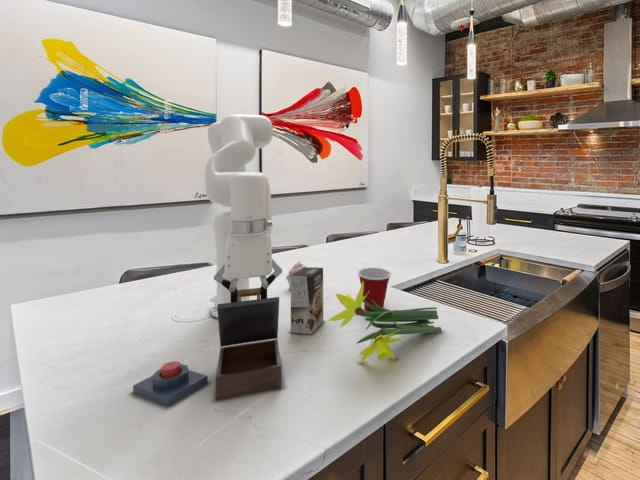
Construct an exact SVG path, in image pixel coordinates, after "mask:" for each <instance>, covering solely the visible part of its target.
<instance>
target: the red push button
mask: <svg viewBox="0 0 640 480" xmlns="http://www.w3.org/2000/svg"><path fill="white" fill-rule="evenodd" d="M181 364H182V363H181V362H180V361H178V360H172V361H168V362H166V363H163V365H161V367H160V369H161V377H163V378H166V377H172V376H175V375H177V374H179V373H180V372H181Z"/></svg>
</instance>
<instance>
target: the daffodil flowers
mask: <svg viewBox="0 0 640 480" xmlns="http://www.w3.org/2000/svg"><path fill="white" fill-rule="evenodd" d="M363 288H364V281H363V282H362V284H361V283H360V288H359V291H358V292H357V295H356V298H355V299H354V298H353V297H352V295H351V294H350V293H347V294H345V295H343V294H339V293H335V294H336V298H337V300H338V301H339V303H340V305H342V306H343V307H344V308H346V309H344V310H342V311H341V312H339V313H337V314H336V315H334V316H332V317H331V318H329V319H328V320H327V322H337V321H341V320H343V321H342V322H341V324H340V326H339V329H341V328H342V327H344V326H346V325H348V324H349V322H350V321H351V320H352V319H353V317H354V316H355V317H359V316H360V317H364V320H365V321H366V322H369V324H368V325H367V327H366V328H365V331H367V330H368V329H369V328H370V327H371V326H372V327H374V328H378V329H379V330H378V331H374V332H372V333H368V334H367V335H365V336H364V337H362V338H361V339H359V340H358V341H357V342H356V344H362V343H364V342H366V341H370V342H371V344H369V346H367V347H365V348H364V349H362V350H361V351H360V353H359V354H358V356H357V358H358V357H360V356H361V358H360V364H362V363H363V362H364V361H366V360H367V359H368V358H369V357H370V356H371V355H372V354H374V353H375V352H376V351H377V359H378V360H379V361H382V360H383V361H384V360H386V359H388V357H389V358H390V359H392V360H396V357H395V354H394V352H393V350H392V348H391V346H390V344H393V343H395V342H401V341H403V342H404V341H405V342H406V341H408V340H409V338H400V337H393V336H399V335H401V336H402V335H416V334H417V335H418V334H434V333H435V334H436V333H442V327H441V326H435V325H433V324H434V323H435V321H432V320H439V314H438V307H437V306H435V307H434V306H433V307H420V308H408V309H393V310H392V309H391V310H390V309H387V308H383V309H382V308H381V307H380V306H378V305H377V304H376V303H375V302H374V301H373V300H372V301H373V302H374V304H375V305H376V306H377V307H376V306H374V305H372V304H370V303H368V302H366V301H364V299H365V297H366V296H367V295H366V296H364V297H363ZM368 293H369V292H368ZM362 303H363V304H364V303H365V304H366V305H367V306H369V307H370V308H371V309H373V310H375V311H378V312H369V311H366V310H364V309H363V308H362Z"/></svg>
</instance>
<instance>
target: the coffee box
mask: <svg viewBox="0 0 640 480" xmlns="http://www.w3.org/2000/svg"><path fill="white" fill-rule="evenodd" d="M323 322H324V267H314V266H313V267H307V266H306V267H304V268H302V269H300V270H299V271H297V272H295V273H294V274H292V275H291V290H290V333H292V334H303V335H311V334H313V333H314V331H316V330H317V329H318V328H319V327H320V326H321V324H323Z"/></svg>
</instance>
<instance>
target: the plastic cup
mask: <svg viewBox="0 0 640 480" xmlns="http://www.w3.org/2000/svg"><path fill="white" fill-rule="evenodd" d="M357 275H358V277H359V282H360V285H361V284H362V282H363V281H364V288H363V297H364V296H366V295H367V296H366V297H365V299H364V301H366V302H368V303H370V304H372V305H374V306H376V305H375V304H374V302H375V303H376V304H377V305H378V306H380V307H381V308H382V309H384V307H385V306H384V305H385V301H386V295H387V289H388V284H389V281H390V278H391V277H392V272H391V271H389V270H387V269H385V268H381V267H364V268H361V269H358V270H357ZM368 292H369V293H368ZM363 297H362V298H363ZM372 300H373V301H374V302H373V301H372ZM363 305H364V309H365V311H368V312H378V311H375V310H373V309H371V308H370V307H369V306H367V305H366V304H365V303H364V302H363ZM376 307H377V306H376Z"/></svg>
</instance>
